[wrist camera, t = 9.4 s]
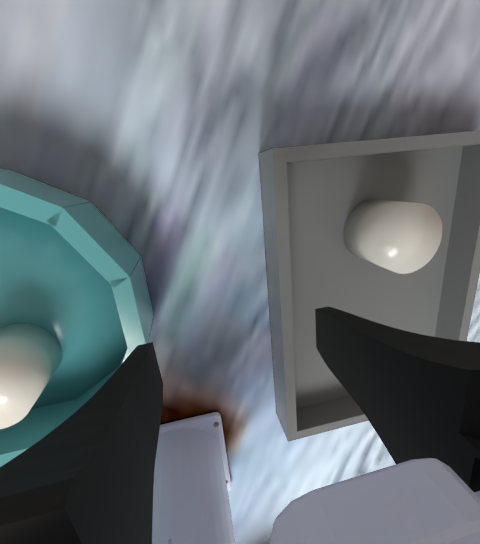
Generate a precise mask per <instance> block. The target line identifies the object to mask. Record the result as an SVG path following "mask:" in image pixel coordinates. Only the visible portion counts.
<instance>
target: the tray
mask: <svg viewBox="0 0 480 544" xmlns="http://www.w3.org/2000/svg"><path fill="white" fill-rule="evenodd" d="M259 167H260V182H261V197H262V211H263V226H264V241H265V255H266V270H267V285H268V299H269V314H270V329H271V343H272V358H273V373H274V387H275V402H276V414H277V416H278V419H279V421H280V423H281V426H282V428H283V431H284V433H285V435H286V438H287V440H288V441H292V440H296V439H300V438H303V437H307V436H311V435H315V434H319V433H322V432H326V431H330V430H334V429H338V428H341V427H345V426H349V425H353V424H357V423H360V422H364V421H368V418H367V417H366V415H365V414H364V412H363V411H362V410H361V408H360V407H359V406H358V404H357V403H356V402H355V401H354V399H353V398H352V397H351V396H350V394H349V393H348V392H347V391H346V389H345V388H344V387H343V386H342V384H341V383H340V382H339V381H338V379H337V378H336V377H335V376H334V374H333V373H332V372H331V370H330V369H329V368H328V367H327V365H326V363H325V362H324V360H323V359H322V357H321V355H320V353H319V352H318V350H317V348H316V320H315V309H318V308H323V307H327V306H328V307H332V308H336V309H339V310H342V311H345V312H348V313H350V314H353V315H356V316H359V317H362V318H365V319H367V320H370V321H373V322H377V323H380V324H383V325H386V326H390V327H393V328H397V329H400V330H404V331H409V332H413V333H417V334H422V335H427V336H432V337H439V338H445V339H451V340H459V341H467V336H468V330H469V325H470V320H471V315H472V309H473V304H474V299H475V294H476V288H477V283H478V278H479V273H480V130H479V131H468V132H456V133H444V134H432V135H421V136H409V137H397V138H385V139H373V140H362V141H350V142H338V143H326V144H315V145H303V146H291V147H279V148H271V149H269V150H266V151H264V152H261V153H259ZM374 199H376V200H389V201H401V202H413V203H424V204H427V205H429V206H431V207H433V208H434V209H435V210H436V211H437V213H438V214H439V216H440V218H441V221H442V238H441V242H440V245H439V247H438V249H437V251H436V253H435V255H434V256H433V257H432V259H431V260H430V261H429V262H428V263H427V264H426V265H425V266H423V267H422V268H420V269H419V270H417V271H414V272H412V273H407V274H399V273H395V272H393V271H390V270H388V269H385V268H383V267H381V266H378V265H376V264H373V263H371V262H369V261H366V260H364V259H361V258H359V257H357V256H355V255H353V254H352V253H350V251H349V250H348V249H347V247H346V245H345V242H344V237H343V232H344V226H345V222H346V220H347V218H348V216H349V214H350V213H351V212H352V211H353V210H354V208H356V207H357V206H358V205H359V204H361V203H363V202H365V201H368V200H374Z"/></svg>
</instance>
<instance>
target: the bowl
mask: <svg viewBox="0 0 480 544" xmlns="http://www.w3.org/2000/svg"><path fill="white" fill-rule="evenodd" d="M153 315H154V314H153V309H152V305H151V300H150V295H149V291H148V286H147V282H146V277H145V272H144V268H143V263H142V258H141V257H140V254H139V253H138V252H137V251H136V250H135V249H134V248H133V247H132V246H131V245H130V244H129V242H128V241H127V240H126V239H125V238H124V237H123V236H122V235H121V234H120V233H119V232H118V230H117V229H116V228H115V227H114V226H113V225H112V224H111V223H110V222H109V221H108V220H107V218H106V217H105V216H104V215H103V214H102V213H101V212H100V211H99V210H98V209H97V208H96V206H95V205H94V204H93V203H92V202H91V201H88V200H86V199H83V198H81V197H78V196H76V195H73V194H70V193H68V192H65V191H63V190H60V189H58V188H55V187H53V186H50V185H48V184H45V183H43V182H40V181H38V180H35V179H32V178H30V177H27V176H25V175H22V174H20V173H17V172H15V171H12V170H9V169H0V328H1V327H3V326H6V325H10V324H15V323H27V324H32V325H36V326H39V327H41V328H43V329H45V330H47V331H48V332H50V333H51V334H52V335H53V336H54V337H55V338H56V339H57V340H58V342H59V344H60V346H61V349H62V360H61V363H60V365H59V367H58V368H57V370H56V372H55V373H54V375H53V376H52V378H51V379H50V381H49V382H48V384H47V385H46V387H45V388H44V390H43V391H42V393H41V394H40V396H39V397H38V399H37V400H36V402H35V403H34V405H33V406H32V408H31V410H30V411H29V412H28V414H27V415H26V416H25V417H24V418H23V419H22V420H21V421H19V422H18V423H16V424H14V425H12V426H10V427H7V428H4V429H0V467H1V466H3V465H4V464H6V463H7V462H9V461H10V460H12V459H13V458H15V457H16V456H18V455H19V454H21V453H22V452H24V451H25V450H27V449H28V448H30V447H31V446H32V445H34V444H35V443H37V442H38V441H39V440H41V439H42V438H44V437H45V436H46V435H47V434H49V433H50V432H51V431H52V430H54V429H55V428H56V427H58V426H59V425H60V424H61V423H63V422H64V421H65V420H66V419H68V418H69V417H70V416H71V415H72V414H74V413H75V412H76V411H77V410H78V409H79V408H80V407H81V406H83V405H84V404H85V403H86V402H87V401H88V400H89V399H90V398H91V397H92V396H93V395H94V394H95V393H96V392H97V391H98V390H99V389H100V388H101V387H102V386H103V385H104V384H105V382H106V381H107V380H108V379H109V378H110V377H111V376H112V375H113V374H114V373H115V371H116V370H117V369H118V368H119V367H120V366H121V364H122V363H123V362H124V361H125V360H126V358H127V357H128V356H129V355H130V354H131V352H132V351H133V350H134V349H135V348H136V347H137V346H138V345H142V344H147V343H148V340H149V335H150V330H151V325H152V320H153Z"/></svg>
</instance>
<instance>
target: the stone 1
mask: <svg viewBox="0 0 480 544" xmlns="http://www.w3.org/2000/svg"><path fill="white" fill-rule="evenodd" d="M61 360H62V349H61V346H60V344H59V342H58V340H57V339H56V338H55V337H54V336H53V335H52V334H51V333H50V332H48V331H47V330H45V329H43V328H41V327H39V326H36V325H32V324H27V323H15V324H10V325H6V326H3V327H1V328H0V429H4V428H7V427H10V426H12V425H14V424H16V423H18V422H19V421H21V420H22V419H23V418H24V417H25V416H26V415H27V414H28V412H29V411H30V410H31V408H32V406H33V405H34V403H35V402H36V400H37V399H38V397H39V396H40V394H41V393H42V391H43V390H44V388H45V387H46V385H47V384H48V382H49V381H50V379H51V378H52V376H53V375H54V373H55V372H56V370H57V368H58V367H59V365H60V363H61Z"/></svg>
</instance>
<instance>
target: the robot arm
mask: <svg viewBox="0 0 480 544" xmlns="http://www.w3.org/2000/svg"><path fill="white" fill-rule="evenodd" d="M315 320H316V348H317V350H318V352H319V353H320V355H321V357H322V359H323V360H324V362H325V363H326V365H327V367H328V368H329V369H330V370H331V372H332V373H333V374H334V376H335V377H336V378H337V379H338V381H339V382H340V383H341V384H342V386H343V387H344V388H345V389H346V391H347V392H348V393H349V394H350V396H351V397H352V398H353V399H354V401H355V402H356V403H357V404H358V406H359V407H360V408H361V410H362V411H363V412H364V414H365V415H366V417H367V418H368V420H369V421H370V423H371V424H372V426H373V428H374V429H375V431H376V432H377V434H378V435H379V437H380V438H381V440H382V442H383V443H384V445H385V447H386V448H387V450H388V452H389V453H390V455H391V456H392V458H393V460H394V461H395V463H396V465H393V466H389V467H386V468H383V469H380V470H377V471H373V472H370V473H367V474H364V475H360V476H357V477H354V478H351V479H348V480H344V481H341V482H338V483H335V484H331V485H328V486H325V487H322V488H319V489H315V490H312V491H311V492H309V493H307V494H305V495H303V496H301V497H299V498H297V499H295V500H293V501H291V502H290V503H289V505H288V506H287V507H286V508H285V509H284V510H283V511H282V512H281V513H280V514H279V515H278V516H277V518H276V520H275V522H274V525H273V529H272V533H271V537H270V541H269V542H270V544H480V343H478V342H467V341H459V340H451V339H445V338H439V337H432V336H427V335H422V334H417V333H413V332H409V331H404V330H400V329H397V328H393V327H390V326H386V325H383V324H380V323H377V322H373V321H370V320H367V319H365V318H362V317H359V316H356V315H353V314H350V313H348V312H345V311H342V310H339V309H336V308H332V307H328V306H327V307H323V308H318V309H315ZM162 406H163V382H162V378H161V374H160V370H159V366H158V362H157V358H156V354H155V350H154V346H153V342H152V343H147V344H142V345H138V346H137V347H136V348H135V349H134V350H133V351H132V352H131V354H130V355H129V356H128V357H127V358H126V360H125V361H124V362H123V363H122V364H121V366H120V367H119V368H118V369H117V370H116V371H115V373H114V374H113V375H112V376H111V377H110V378H109V379H108V380H107V381H106V382H105V384H104V385H103V386H102V387H101V388H100V389H99V390H98V391H97V392H96V393H95V394H94V395H93V396H92V397H91V398H90V399H89V400H88V401H87V402H86V403H85V404H84V405H83V406H81V407H80V408H79V409H78V410H77V411H76V412H75V413H74V414H72V415H71V416H70V417H69V418H68V419H66V420H65V421H64V422H63V423H61V424H60V425H59V426H58V427H56V428H55V429H54V430H52V431H51V432H50V433H49V434H47V435H46V436H45V437H44V438H42V439H41V440H39V441H38V442H37V443H35V444H34V445H32V446H31V447H30V448H28V449H27V450H25V451H24V452H22V453H21V454H19V455H18V456H16V457H15V458H13V459H12V460H10V461H9V462H7V463H6V464H4V465H3V466H1V467H0V544H236V542H235V535H234V529H233V522H232V516H231V509H230V503H229V496H228V492H230V491H231V489H232V487H231V480H230V474H229V467H228V460H227V454H226V447H225V440H224V434H223V427H222V420H221V415H220V413H218V412H213V413H208V414H204V415H200V416H196V417H191V418H187V419H183V420H179V421H174V422H170V423H166V424H162V425H160V422H161V414H162ZM215 422H217V423H215Z"/></svg>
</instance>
